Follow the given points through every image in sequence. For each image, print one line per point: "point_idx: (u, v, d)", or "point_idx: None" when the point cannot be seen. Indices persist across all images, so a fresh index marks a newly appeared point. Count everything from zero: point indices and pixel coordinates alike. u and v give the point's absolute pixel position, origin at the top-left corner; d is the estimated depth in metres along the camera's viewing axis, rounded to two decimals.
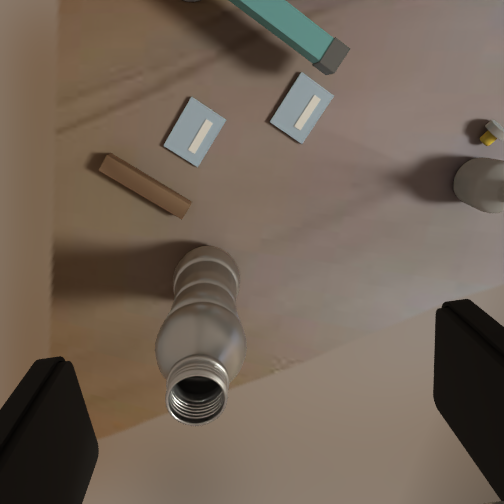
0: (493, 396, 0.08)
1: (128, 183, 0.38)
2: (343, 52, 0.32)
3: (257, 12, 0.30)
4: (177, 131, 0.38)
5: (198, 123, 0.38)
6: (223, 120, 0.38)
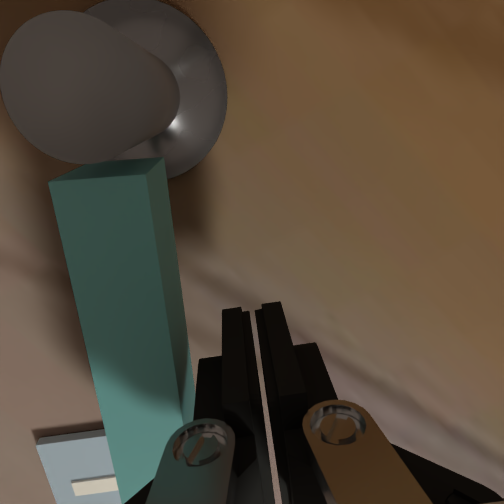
0: (266, 388, 0.09)
1: None
2: None
3: (102, 405, 0.10)
4: None
5: None
6: None
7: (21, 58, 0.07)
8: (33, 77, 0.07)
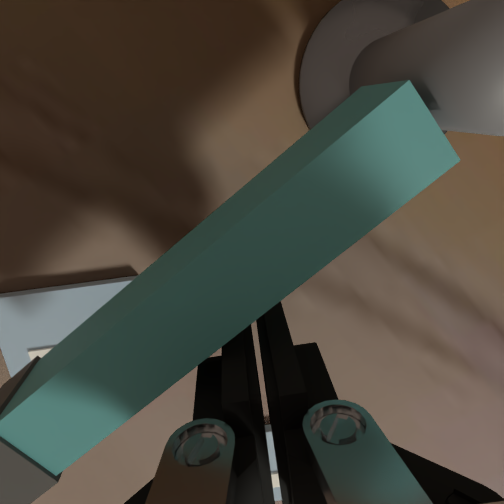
0: (266, 388, 0.09)
1: None
2: (7, 496, 0.09)
3: (192, 264, 0.08)
4: (40, 305, 0.14)
5: None
6: None
7: None
8: None
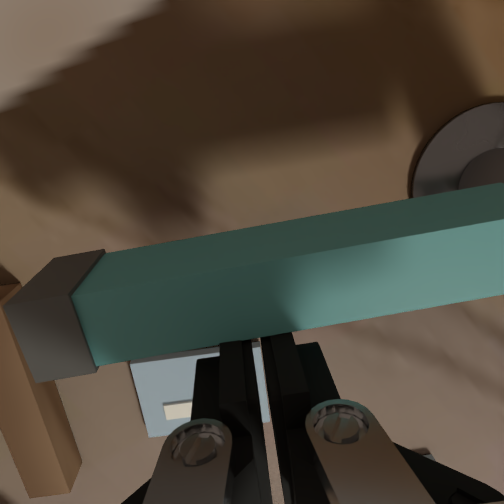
0: (268, 387, 0.09)
1: None
2: (40, 363, 0.09)
3: (335, 251, 0.09)
4: (176, 367, 0.16)
5: None
6: (265, 418, 0.17)
7: None
8: None
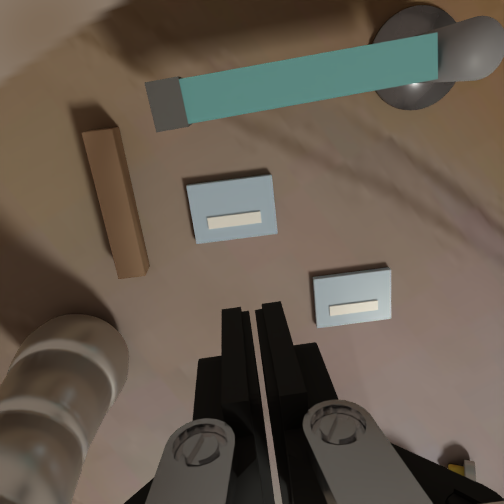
0: (266, 388, 0.09)
1: (101, 183, 0.23)
2: (160, 119, 0.18)
3: (314, 56, 0.17)
4: (216, 189, 0.25)
5: (247, 207, 0.25)
6: (274, 230, 0.26)
7: (491, 26, 0.17)
8: (483, 31, 0.17)
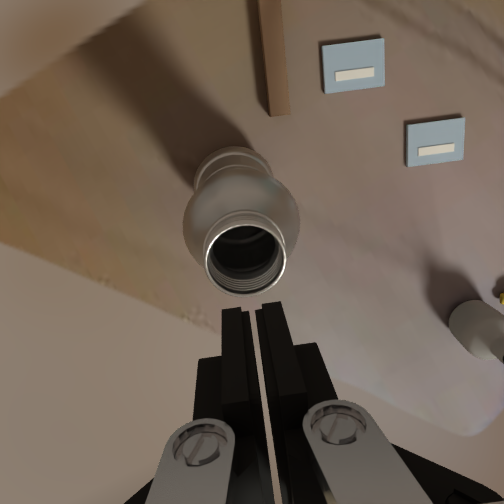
0: (266, 388, 0.09)
1: (267, 38, 0.32)
2: None
3: None
4: (343, 49, 0.34)
5: (364, 64, 0.34)
6: (382, 83, 0.35)
7: None
8: None
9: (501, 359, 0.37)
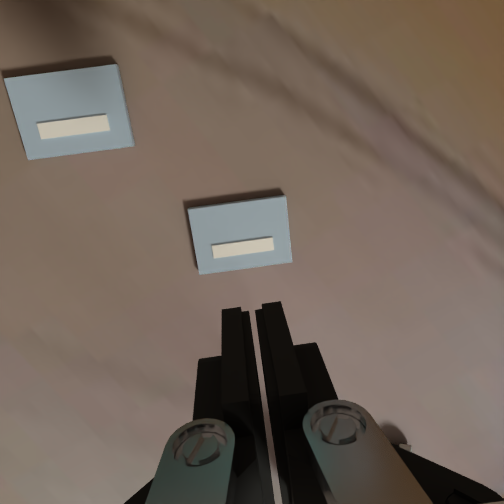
0: (266, 388, 0.09)
1: None
2: None
3: None
4: (45, 84, 0.19)
5: (89, 109, 0.19)
6: (128, 142, 0.20)
7: None
8: None
9: None
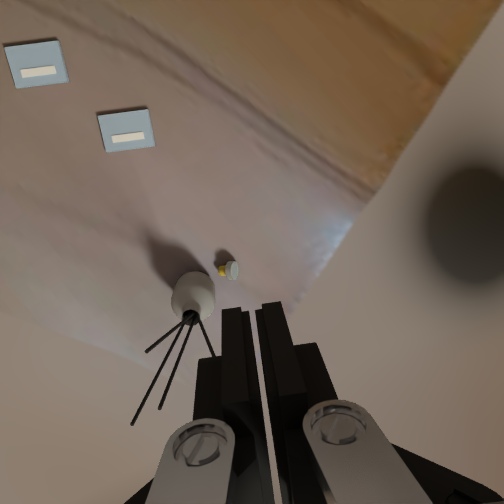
0: (266, 387, 0.09)
1: None
2: None
3: None
4: (24, 50, 0.40)
5: (45, 62, 0.40)
6: (65, 79, 0.41)
7: None
8: None
9: (182, 319, 0.42)
